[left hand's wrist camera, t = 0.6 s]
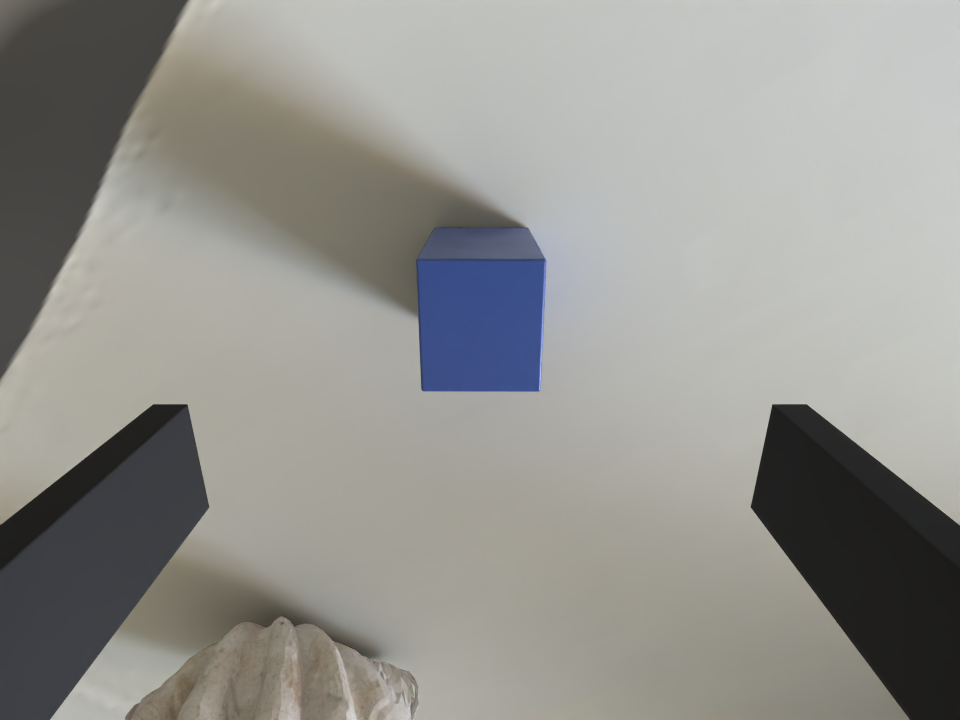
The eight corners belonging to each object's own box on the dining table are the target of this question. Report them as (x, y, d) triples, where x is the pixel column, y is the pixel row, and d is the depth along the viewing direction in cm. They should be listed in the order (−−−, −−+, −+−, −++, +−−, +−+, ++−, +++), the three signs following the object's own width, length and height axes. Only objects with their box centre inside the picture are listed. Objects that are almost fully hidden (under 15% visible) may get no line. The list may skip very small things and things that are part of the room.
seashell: (247, 545, 35) (162, 690, 26) (434, 655, 38) (419, 818, 29) (171, 639, 38) (69, 799, 29) (351, 733, 41) (313, 905, 32)
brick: (437, 327, 30) (421, 392, 22) (434, 227, 28) (415, 258, 20) (525, 327, 30) (540, 392, 22) (528, 227, 28) (546, 259, 20)
